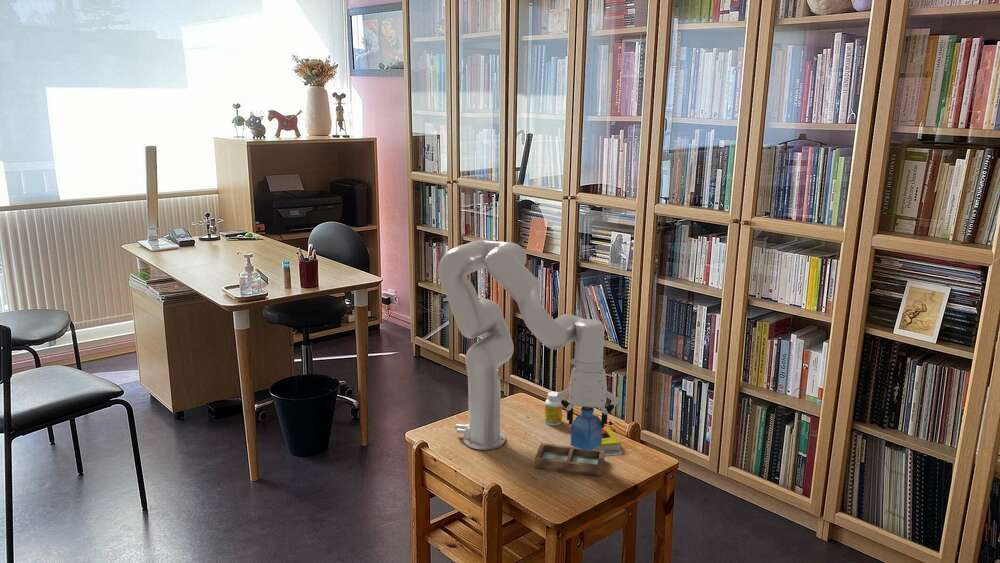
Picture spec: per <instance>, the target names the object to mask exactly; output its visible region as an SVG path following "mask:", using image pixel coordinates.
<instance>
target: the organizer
mask: <svg viewBox="0 0 1000 563" xmlns="http://www.w3.org/2000/svg"><path fill="white" fill-rule="evenodd" d="M604 454H605V450H597V449H593V450H592V451H590V452H588V451H585V450H583V449H580V448H577V447H574V446H571V445H563V444H562V445H560V444H554V443H553V444H552V443H545V442H540V444H539V447H538V449H537V452H536V455H535V457H534V468H533V469H534V470H543V471H548V472H549V471H550V472H557V473H564V474H573V475H581V476H588V477H596V478H601V477H602V473H603V472H602V471H603V468H604V463H605V456H604Z"/></svg>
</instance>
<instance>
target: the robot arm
mask: <svg viewBox="0 0 1000 563" xmlns="http://www.w3.org/2000/svg"><path fill="white" fill-rule="evenodd" d="M526 264H527V253H526V251H525V249H524V248H523V247H522V246H521V245H519V244H518V243H516V242H515V243H514V242H511V241H508V242H507V241H498V240H497V241H494V240H473V241H470V242H468V243H465V244H460V245H457V246H455V247H453V248H451V249H450V250H447V251H446V252H445V253H444V255H443V256H442V257H441V259H440V260H439V263H438V266H437V267H438V268H437V275H438V279H439V283H440V285H441V287H442V289H443V291H444V293H445V296H446V298H447V300H448V303H449V306H450V310H451V312H452V314H453V317H454V320H455V323H456V326H457V328H458V330H459V332H460V334H461V335H462V336H463V337H465V338H467V339H475V338H478V337H479V336H481V338H482V339H480V340H477V341H476V342H475V343H473V344H472V345H470V347H469V348H468V349H467V351H466V354H465V359H464V360H465V368H466V374H467V384H468V385H467V386H468V389H467V390H468V423H466V424H462V423H455V427H454V429H455V430H456V433H457V434H463V438H462V439H463V444H465V446H467V447H469V448H471V449H474V450H480V451H486V450H488V451H490V450H494V449H497V448H500V447H501V446H503V445H504V444H505V442H506V435H505V434H504V432H502V431H501V400H502V399H501V397H502V396H501V393H502V392H501V380H500V377H499V374H498V373H499V372H498V368H500V367H501V366H502V365H504V364H505V363H506V362H508V361H509V360H510V359H511V358H512V356H513V354H514V347H515V346H514V342H513V339H512V336H511V333H510V330H509V328H508V325H507V322H506V319H505V317H504V314H503V312H502V310H501V307H499V305H498V304H497V303H496V302H495V301H494V300H491V299H489V298H481V299H480V298H479V295H478V294H477V290H476V289H475V286H474V285H473V283H472V282H471V280H469V278H468V277H467V276H468V275H469V274H472V273H475V272H476V271H480V270H482V269H486V271H487V272H488V273H489V274H490V275H491V276H492V277H493V278H494V279H495V280H496V281H497V283H498V284H499V285H500V286H501V287H502V288H503V289H504V290H505V291H506V293H508V295H509V296H511V298H513V300H514V301H515V302H516V303H517V306H518V309H519V312H520V314H521V317H522V320H523V322H524V324H525V326H526V327H527V329H528V330H529V331H530V332H531V333H532V335H533V336H534V337H535V338H536V339H537V340H538V341H539V342H540V343H542V345H544V346H545V347H546V348H548V349H550V350H555V351H556V350H561V349H563V348H564V347H565V346H567V345H568V344H570V343H573V342H575V348H574V349H575V350H574V351H575V352H574V354H575V355H574V356H575V357H574V358H570V359H569V365H573V368H572V369H571V372H570V377H569V384H568V385H569V387H568V388H565V389H563V390H561V391H559V392H558V394H557V397H558V399H559V400H560V402H561V404H562V407H564V408H565V410H566V420H567V421H568V425H569V426H571V424H572V423H573V421H574V407H581V408H582V407H591V408H594V409H600V410H601V418H600V420H601V427H602V428H604V426H605V425H607V424H608V414H609V413H610V412H611V411H613V410H614V409H615V407H616V406H617V405H618V404H619V401H620V399H619V397H617V396H616V395H614V394H612V393H611V392H610V391H608V388H607V387H608V386H607V374H606V370H605V368H604V346H605V326H604V323H603V322H602V321H601V320H598V319H594V318H593V319H591V318H583V317H580V316H577V315H574V314H570V313H563V314H561V315H559V316H558V317H556V318H555V319H554V318H553V317H552V316H551V315H550V314H549V313H548V312H547V311H546V309H545V307H544V306H543V305H542V302H541V298H540V297H541V296H540V293H541V292H540V291H541V282H540V280H539V279H538V278H536V276H535V275H534V273H532V272H531V271H530V270H529V269H528V267H526V266H525V265H526ZM567 395H568V400H567V399H566V398H565V396H567ZM607 399H608V400H610V401H611V403H610V404H607Z"/></svg>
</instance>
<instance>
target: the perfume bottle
mask: <svg viewBox="0 0 1000 563" xmlns="http://www.w3.org/2000/svg"><path fill="white" fill-rule="evenodd" d="M580 412H581V413H580V414H578V415H577V416H576V417H575V418H574V419H573V422H572V424H571V425H570V446H572V447H577V448H580V449H583V450H585V451H588V452H590V451H592V450H593V449H595V448H596V447H598V446H599V445H601V444H602V427H601V418H600V417H599V416H598V415H597V414H594V412H595V408H591V407H581V409H580Z"/></svg>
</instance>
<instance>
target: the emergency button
mask: <svg viewBox="0 0 1000 563" xmlns="http://www.w3.org/2000/svg"><path fill="white" fill-rule="evenodd" d="M595 449H597V450H605V454H604V457H610V456H620V455H623V451H622V450H621V441H620V439H618V437H617V436H616V434H615V433H614V431H612V429H611V428H610V427H609V426H605V425H604V428H602V444H601V445H599V446H598V447H596V448H595Z"/></svg>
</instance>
